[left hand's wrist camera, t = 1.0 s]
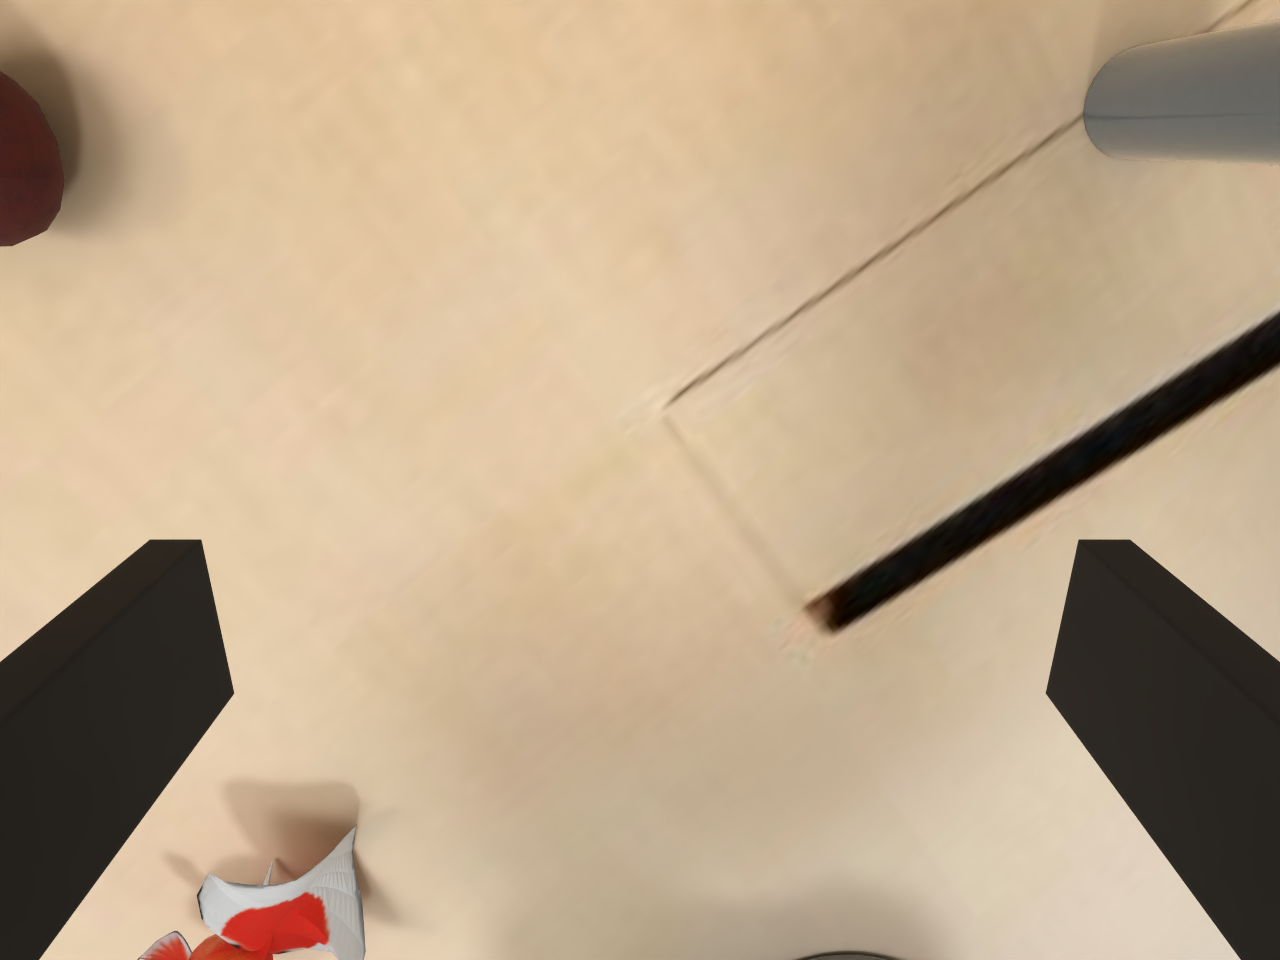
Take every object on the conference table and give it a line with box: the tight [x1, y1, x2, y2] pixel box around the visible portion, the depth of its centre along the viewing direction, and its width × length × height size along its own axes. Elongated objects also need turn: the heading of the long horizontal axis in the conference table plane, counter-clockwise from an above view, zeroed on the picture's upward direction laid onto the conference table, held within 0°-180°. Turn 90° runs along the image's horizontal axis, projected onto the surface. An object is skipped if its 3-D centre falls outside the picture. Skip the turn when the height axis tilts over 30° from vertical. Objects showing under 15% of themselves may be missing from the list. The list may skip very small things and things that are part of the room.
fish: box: [137, 825, 366, 960], centre depth 48 cm, size 11×16×10 cm
